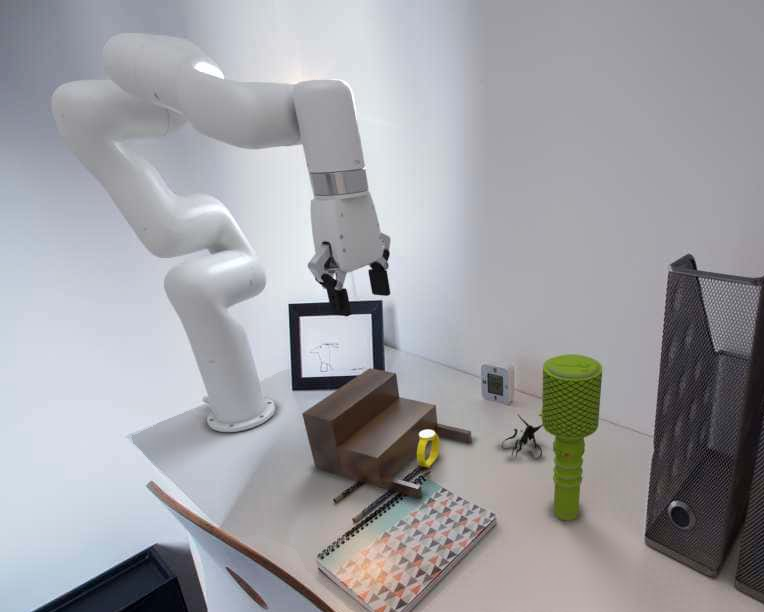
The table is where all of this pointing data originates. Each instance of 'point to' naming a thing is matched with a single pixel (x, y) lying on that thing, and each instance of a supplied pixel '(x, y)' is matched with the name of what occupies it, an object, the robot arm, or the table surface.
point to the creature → (525, 437)
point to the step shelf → (372, 431)
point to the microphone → (570, 422)
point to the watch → (424, 438)
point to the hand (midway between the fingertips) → (362, 304)
